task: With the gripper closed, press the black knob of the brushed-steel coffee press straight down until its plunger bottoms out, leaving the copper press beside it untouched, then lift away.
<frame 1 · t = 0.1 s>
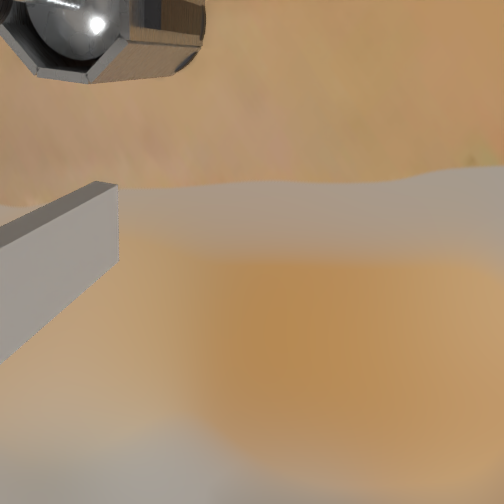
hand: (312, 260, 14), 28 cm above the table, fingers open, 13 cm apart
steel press: (153, 17, 38), on the table
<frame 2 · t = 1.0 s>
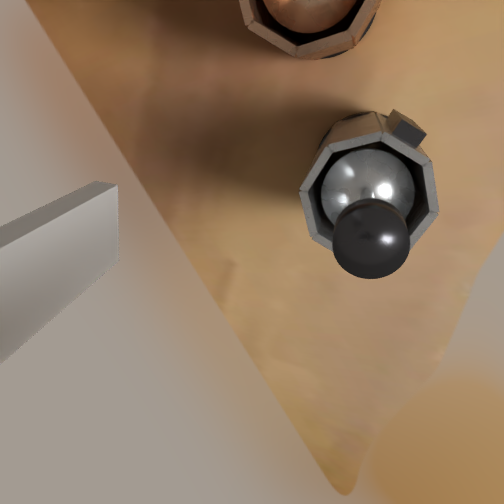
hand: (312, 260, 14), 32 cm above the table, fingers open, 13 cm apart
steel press: (364, 162, 44), on the table
copper press: (323, 0, 39), on the table
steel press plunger: (368, 214, 28), point 17 cm above the table, slide at 0.0 cm
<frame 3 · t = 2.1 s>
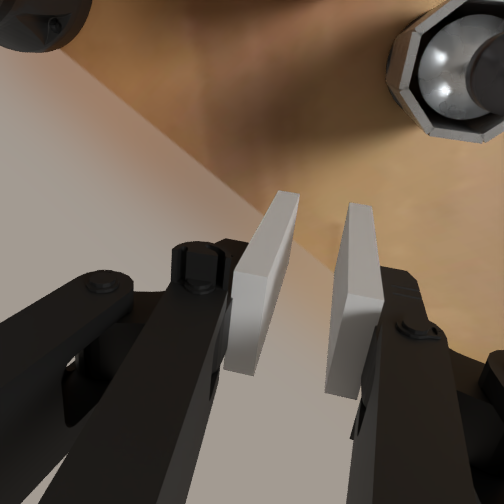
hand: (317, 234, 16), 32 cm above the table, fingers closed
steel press: (438, 66, 41), on the table
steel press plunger: (489, 70, 26), point 17 cm above the table, slide at 0.0 cm
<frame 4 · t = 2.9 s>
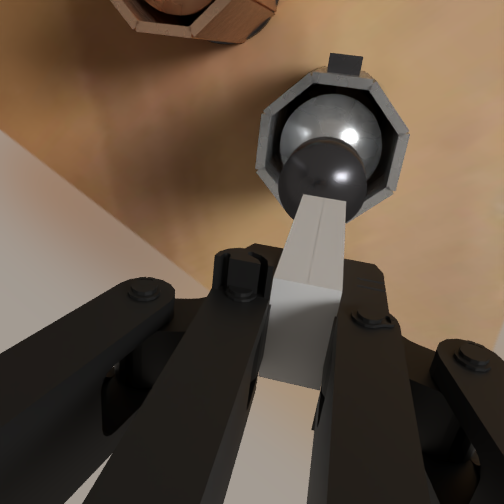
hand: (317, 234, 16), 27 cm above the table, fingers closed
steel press: (334, 122, 40), on the table
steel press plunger: (326, 163, 25), point 17 cm above the table, slide at 0.0 cm
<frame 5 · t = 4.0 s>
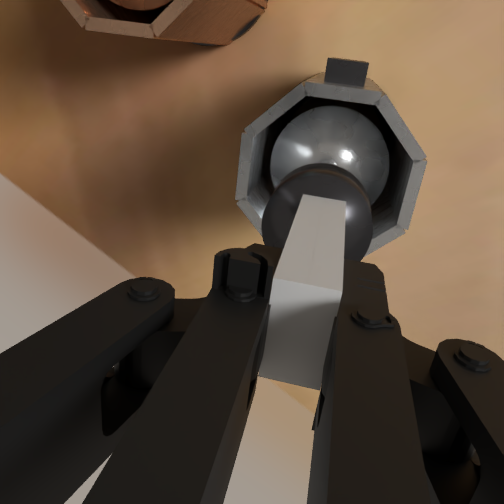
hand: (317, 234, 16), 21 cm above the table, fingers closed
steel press: (334, 136, 35), on the table
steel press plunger: (323, 190, 21), point 16 cm above the table, slide at 1.4 cm, touching gripper
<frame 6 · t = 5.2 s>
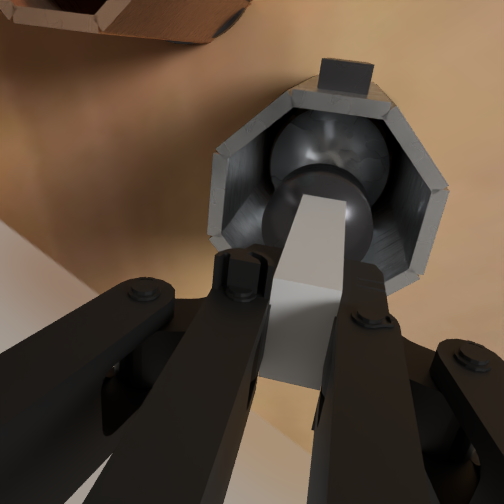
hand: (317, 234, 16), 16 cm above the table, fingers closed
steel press: (332, 148, 30), on the table
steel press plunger: (323, 190, 21), point 10 cm above the table, slide at 6.5 cm, touching gripper
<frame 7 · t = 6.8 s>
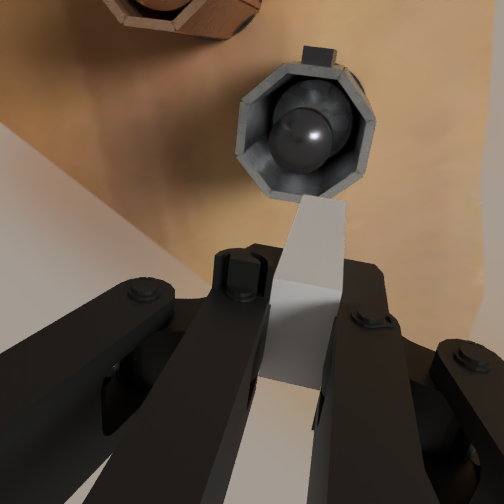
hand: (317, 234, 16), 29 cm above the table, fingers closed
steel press: (316, 114, 42), on the table
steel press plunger: (307, 130, 33), point 10 cm above the table, slide at 6.5 cm
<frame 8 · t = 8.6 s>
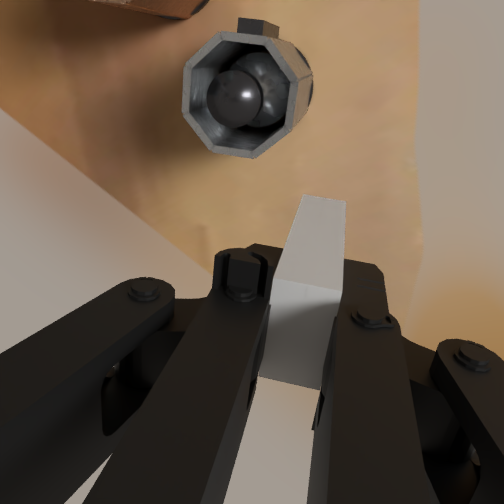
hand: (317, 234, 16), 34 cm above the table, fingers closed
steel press: (268, 87, 47), on the table
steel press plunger: (247, 94, 38), point 10 cm above the table, slide at 6.5 cm
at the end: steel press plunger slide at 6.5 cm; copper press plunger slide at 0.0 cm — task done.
